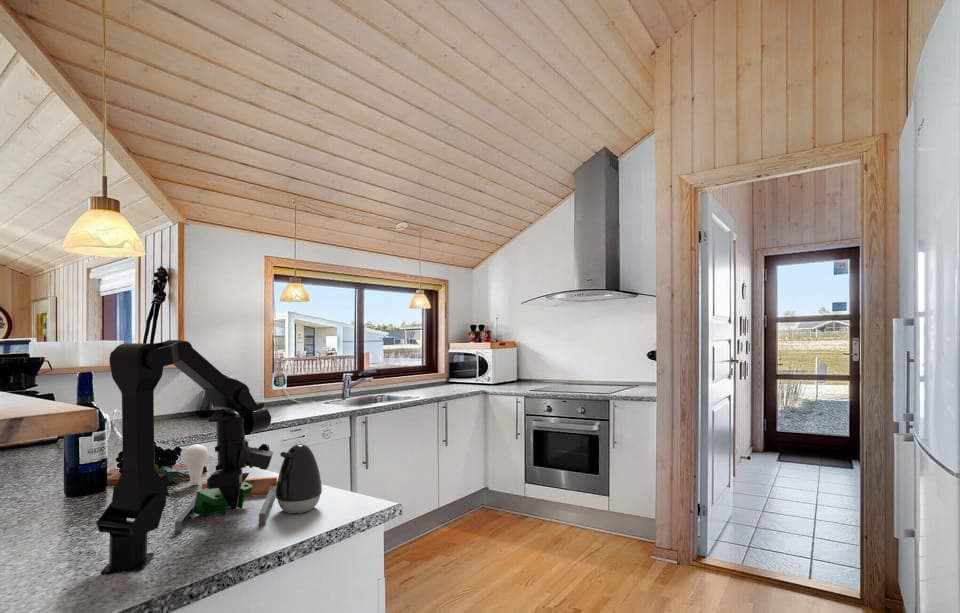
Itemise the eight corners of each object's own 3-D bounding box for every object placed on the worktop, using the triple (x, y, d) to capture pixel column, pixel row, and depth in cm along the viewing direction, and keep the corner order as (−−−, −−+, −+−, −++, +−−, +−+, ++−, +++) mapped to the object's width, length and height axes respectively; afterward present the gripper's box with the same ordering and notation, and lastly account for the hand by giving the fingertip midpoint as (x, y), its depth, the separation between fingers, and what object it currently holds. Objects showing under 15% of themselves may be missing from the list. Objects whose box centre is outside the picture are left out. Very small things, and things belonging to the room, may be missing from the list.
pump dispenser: (265, 513, 121) (265, 446, 122) (299, 500, 131) (300, 438, 131) (297, 520, 117) (297, 451, 117) (331, 506, 126) (331, 442, 126)
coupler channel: (264, 525, 114) (265, 506, 114) (174, 534, 110) (175, 514, 110) (277, 492, 137) (277, 476, 138) (203, 498, 133) (203, 482, 133)
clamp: (216, 536, 119) (209, 505, 116) (197, 526, 121) (190, 496, 118) (257, 500, 129) (252, 471, 126) (239, 492, 131) (233, 463, 128)
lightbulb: (183, 483, 146) (184, 443, 146) (208, 480, 148) (209, 441, 149) (181, 489, 140) (182, 447, 141) (207, 486, 143) (208, 445, 143)
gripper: (262, 442, 112) (266, 517, 111) (274, 428, 130) (277, 492, 130) (205, 449, 109) (208, 525, 109) (225, 433, 128) (228, 498, 127)
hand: (234, 509), depth 119 cm, fingers closed
